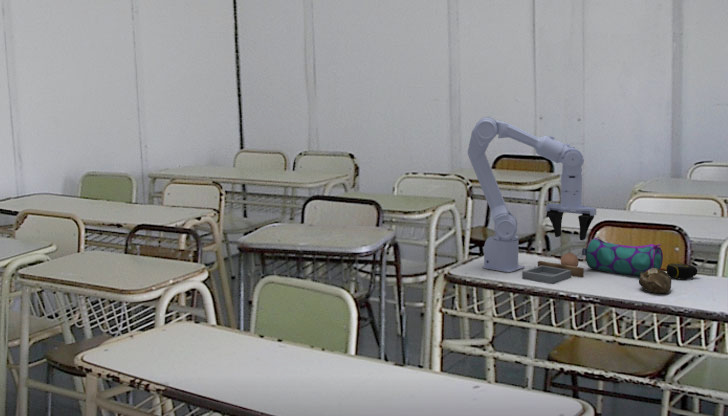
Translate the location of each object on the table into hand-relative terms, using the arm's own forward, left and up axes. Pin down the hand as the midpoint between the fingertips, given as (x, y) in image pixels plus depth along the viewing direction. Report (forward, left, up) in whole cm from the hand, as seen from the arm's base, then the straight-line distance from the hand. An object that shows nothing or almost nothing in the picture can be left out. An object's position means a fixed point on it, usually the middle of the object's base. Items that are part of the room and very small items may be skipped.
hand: (570, 238), depth 238 cm
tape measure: (+27, +13, -10) cm, 31 cm away
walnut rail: (0, -5, -9) cm, 11 cm away
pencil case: (+13, +7, -10) cm, 17 cm away
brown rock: (+28, -6, -10) cm, 30 cm away
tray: (0, -12, -9) cm, 15 cm away
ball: (0, 0, -7) cm, 7 cm away
